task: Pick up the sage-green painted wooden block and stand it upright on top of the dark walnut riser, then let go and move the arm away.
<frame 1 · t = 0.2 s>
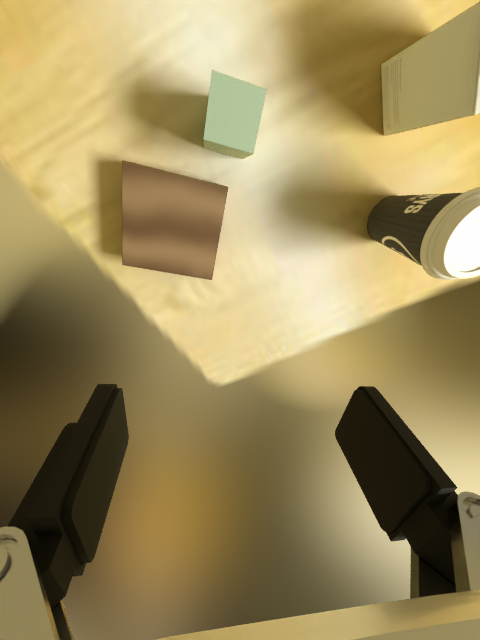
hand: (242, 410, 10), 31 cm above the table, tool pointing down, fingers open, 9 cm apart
coffee cup: (387, 219, 38), on the table
supplement box: (409, 91, 30), on the table
sage block: (227, 129, 30), on the table
walnut riser: (176, 223, 35), on the table
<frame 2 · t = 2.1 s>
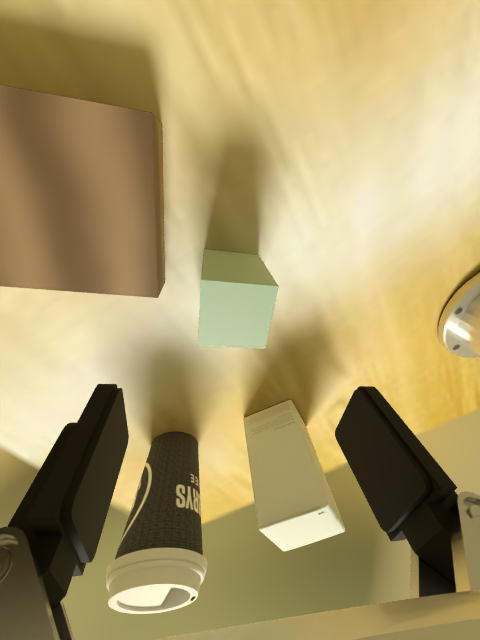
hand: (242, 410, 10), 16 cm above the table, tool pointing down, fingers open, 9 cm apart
coffee cup: (175, 445, 36), on the table
supplement box: (275, 421, 35), on the table
sage block: (228, 277, 24), on the table
walnut riser: (88, 204, 20), on the table
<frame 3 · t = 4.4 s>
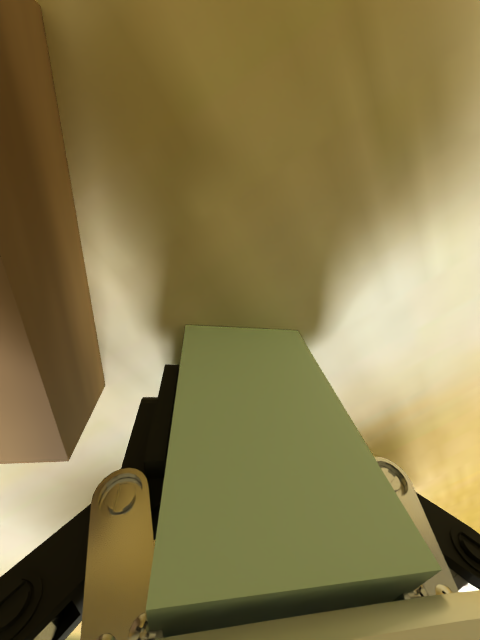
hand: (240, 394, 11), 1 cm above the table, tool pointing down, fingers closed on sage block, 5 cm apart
sage block: (236, 371, 12), on the table, touching gripper
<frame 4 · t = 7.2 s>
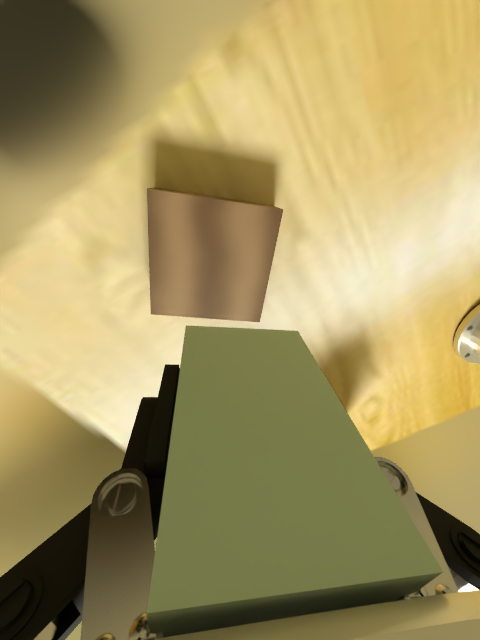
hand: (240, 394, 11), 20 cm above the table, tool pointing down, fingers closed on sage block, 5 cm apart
sage block: (237, 372, 12), point 19 cm above the table, touching gripper
walnut riser: (211, 255, 28), on the table
when the fingers open (7 cm above the table, at t = 10.1 s): sage block drops 2 cm, point 3 cm above the table.
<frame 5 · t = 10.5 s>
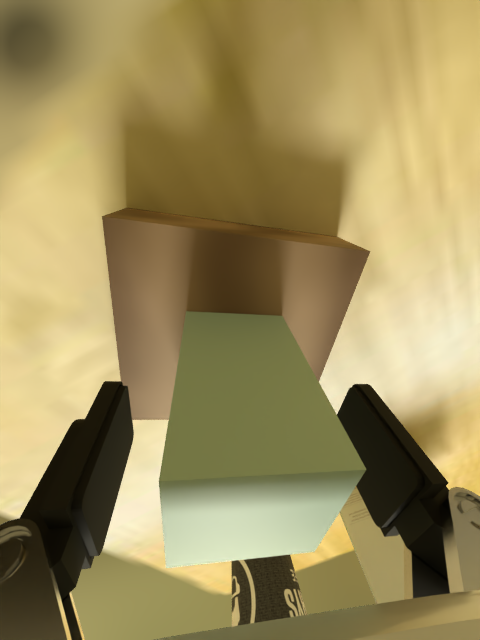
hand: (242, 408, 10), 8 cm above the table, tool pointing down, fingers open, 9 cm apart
coffee cup: (255, 522, 33), on the table
supplement box: (363, 495, 33), on the table
sage block: (231, 352, 14), point 3 cm above the table
walnut riser: (226, 313, 17), on the table
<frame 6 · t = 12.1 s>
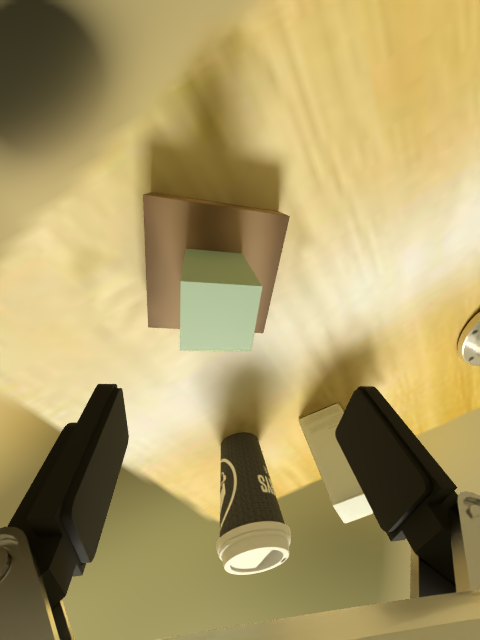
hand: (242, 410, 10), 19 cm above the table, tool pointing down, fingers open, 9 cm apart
coffee cup: (239, 443, 42), on the table
supplement box: (322, 421, 43), on the table
sage block: (212, 277, 23), point 4 cm above the table
walnut riser: (212, 263, 26), on the table
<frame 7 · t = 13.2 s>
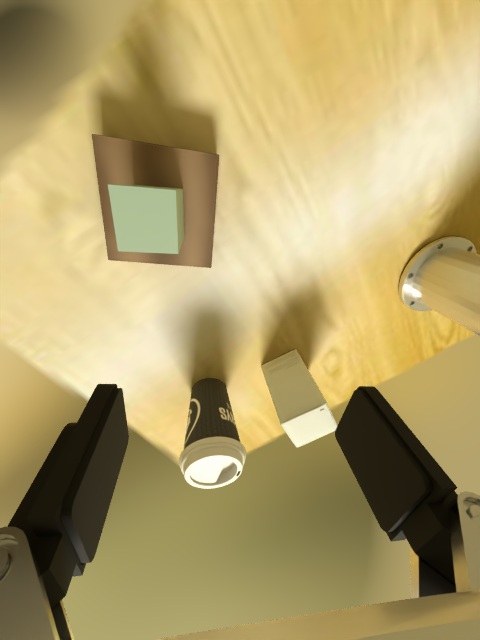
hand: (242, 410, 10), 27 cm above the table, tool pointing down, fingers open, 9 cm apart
coffee cup: (209, 390, 47), on the table
supplement box: (284, 368, 47), on the table
sage block: (160, 212, 27), point 4 cm above the table
walnut riser: (164, 207, 31), on the table
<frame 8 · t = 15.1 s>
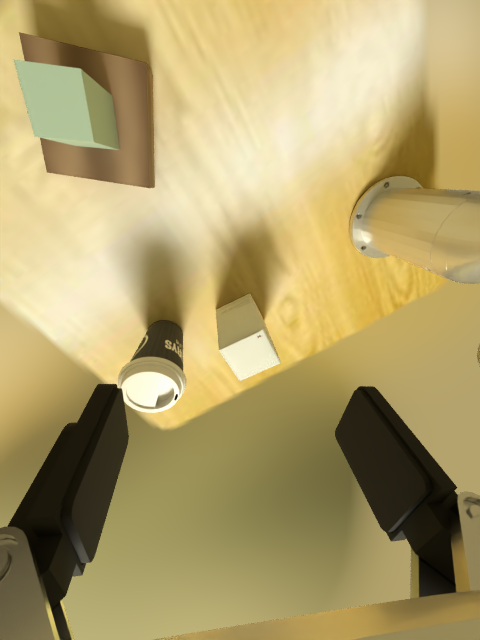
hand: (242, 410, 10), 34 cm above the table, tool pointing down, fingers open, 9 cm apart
coffee cup: (165, 334, 47), on the table
supplement box: (240, 315, 47), on the table
sage block: (93, 121, 28), point 3 cm above the table, touching walnut riser
walnut riser: (105, 127, 32), on the table, touching sage block
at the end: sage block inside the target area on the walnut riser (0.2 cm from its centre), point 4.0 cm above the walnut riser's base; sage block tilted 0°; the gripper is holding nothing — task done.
